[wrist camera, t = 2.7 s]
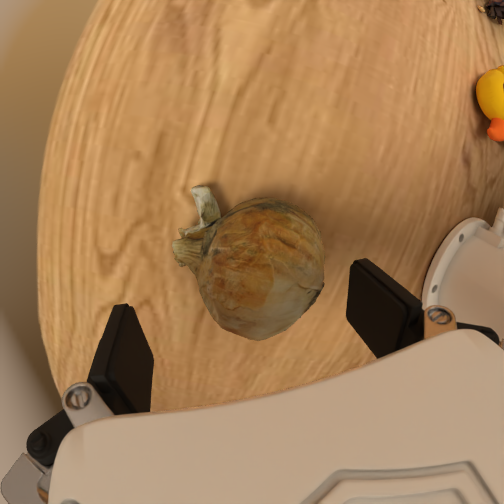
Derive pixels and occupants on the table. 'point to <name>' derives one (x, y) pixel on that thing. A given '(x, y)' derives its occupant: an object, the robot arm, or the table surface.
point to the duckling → (492, 101)
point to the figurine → (495, 9)
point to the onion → (253, 263)
